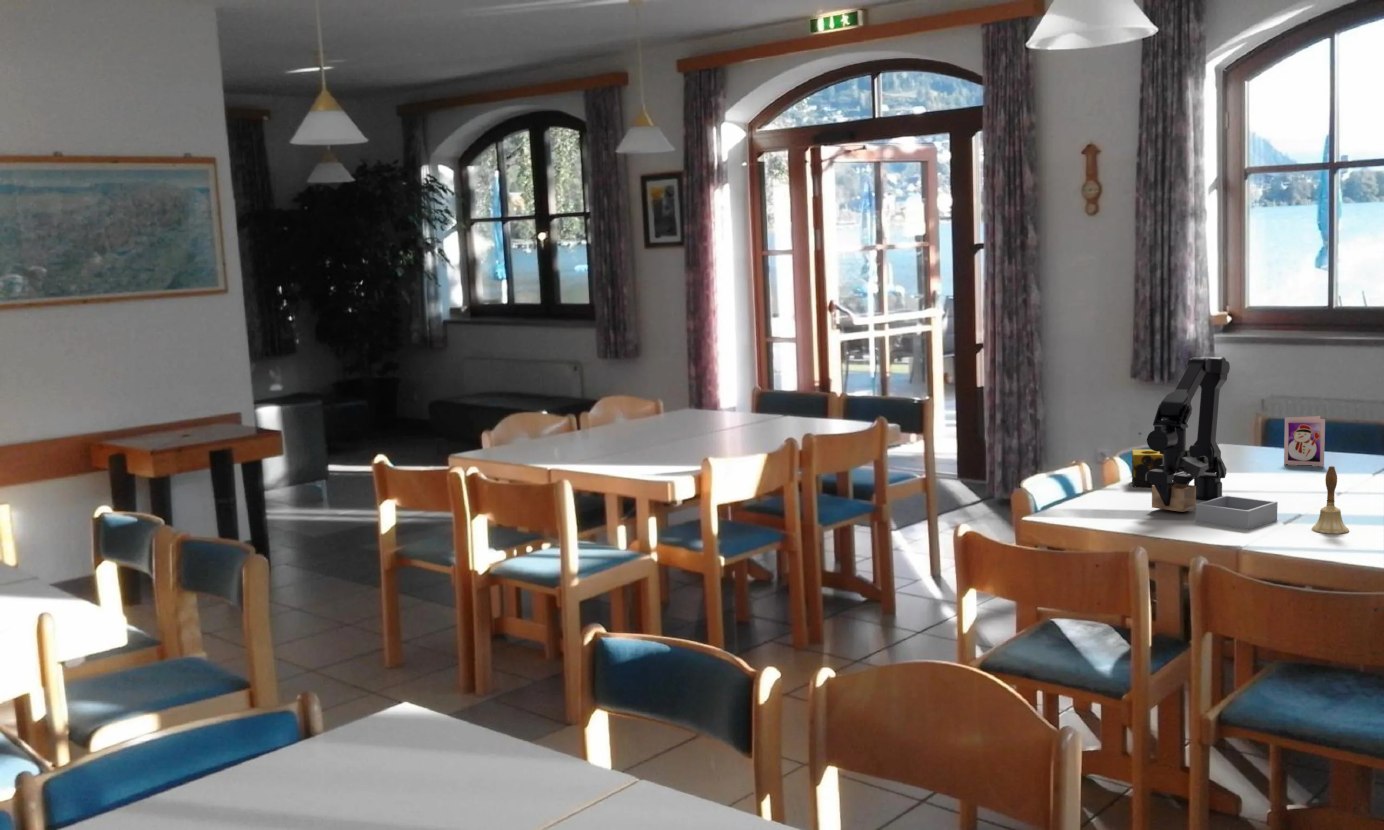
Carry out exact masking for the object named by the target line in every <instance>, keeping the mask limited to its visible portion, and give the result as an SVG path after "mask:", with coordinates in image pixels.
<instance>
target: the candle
mask: <svg viewBox="0 0 1384 830" xmlns="http://www.w3.org/2000/svg"><path fill="white" fill-rule="evenodd" d="M1131 455H1132V456H1131V459H1132V460H1131V483H1132V487H1133V488H1151V489H1152V485H1154V484H1153V483H1151V481H1146V473H1147V472H1148V471H1149V470H1153V469H1160V465H1163V454H1160V451H1159V452H1156V451H1153V450H1152V449H1151V448H1149V449H1147V448H1146V449H1137V448H1136V449H1132V450H1131ZM1161 470H1163V469H1161Z"/></svg>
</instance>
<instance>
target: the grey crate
mask: <svg viewBox="0 0 1384 830" xmlns="http://www.w3.org/2000/svg"><path fill="white" fill-rule="evenodd" d="M1275 521H1278V501H1274V500H1273V501H1271V500H1263V499H1257V498H1256V499H1255V498H1247V497H1240V496H1231V495H1226V494H1225V495H1222V497H1219V498H1215V499H1212V500H1204V501H1202V502H1199V503H1196V508H1195V523H1199V524H1207V525H1213V524H1214V525H1213V526H1219V525H1222V526H1221V527H1226V528H1227V527H1228V528H1234V529H1240V530H1241V529H1242V530H1246V531H1247V530H1248V531H1249V530H1252V529H1254V528H1257V527H1260V526H1263V525H1266V524H1270V523H1272V522H1275Z"/></svg>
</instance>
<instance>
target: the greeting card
mask: <svg viewBox="0 0 1384 830" xmlns="http://www.w3.org/2000/svg"><path fill="white" fill-rule="evenodd" d="M1325 433H1326V419H1325V418H1321V415H1315V416H1313V415H1312V416H1293V417H1292V416H1291V417H1284V437H1283V439H1284V443H1283V444H1284V445H1283V447H1284V448H1283V450H1284V451H1283V465H1284V464H1285V465H1284V466H1297V465H1314V466H1313V467H1317V466H1324V467H1325V447H1326V446H1325V440H1326V439H1325V438H1326V434H1325ZM1286 464H1288V465H1286ZM1315 465H1316V466H1315Z"/></svg>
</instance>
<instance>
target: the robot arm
mask: <svg viewBox="0 0 1384 830" xmlns="http://www.w3.org/2000/svg"><path fill="white" fill-rule="evenodd" d="M1230 366H1231V365H1230V362H1229V361H1227V359H1226V358H1225V357H1224V356H1223V357H1221V356H1220V357H1219V356H1200V357H1192V358H1191V357H1190V358H1189V359H1188V362H1187V367H1186V368H1185V371H1184V372H1183V375H1182V376H1181V378H1180V380H1179V381H1178V384H1177V385H1176V387H1175V389H1173V390H1174V391H1172V392H1170V393H1168V394H1165V396H1164V397H1163V399H1162V400H1161V401H1160V403H1159V405H1158V407H1157V410H1156V414H1155V417H1154V420H1153V423H1152V426H1154V427H1153V429H1154V430H1152V431H1151V432H1149V433H1148V435H1147V438H1146V443H1147V446H1148V447H1149V449H1152V450H1153V451H1156V452H1159V451H1160V454H1163V465H1160V469H1153V470H1149V471H1148V472H1147V473H1146V481H1151V483H1153V484H1154V486H1155V488H1156V489H1157V491H1158V493H1159V495H1160V497H1161V499H1162V501H1163V503H1164V505H1165V506H1169V504H1170V497H1171V488H1172V486H1173V485H1174V484H1175V483H1177V484H1185V485H1190V483H1191V482H1192V481H1193V486H1196V500H1202V501H1203V500H1204V501H1208V500H1212V499H1215V498H1219V497H1222V496H1223V482H1222V481H1221V479H1225V478H1226V476H1227V471H1228V470H1227V468H1226V465H1225V463H1224V460H1223V459H1222V452H1221V449H1220V447H1219V445H1218V443H1217V442H1216V441H1217V440H1216V439H1217V430H1218V429H1217V428H1218V427H1217V426H1218V415H1219V414H1218V413H1219V402H1220V401H1219V400H1220V393H1221V392H1220V391H1221V388H1222V387H1223V386H1224V384H1225V383H1226V382H1227V379H1228V374H1229V372H1230V370H1231V367H1230ZM1199 387H1200V388H1201V389H1200V398H1199V399H1200V401H1199V409H1198V410H1199V412H1198V422H1197V423H1198V425H1197V438H1196V441H1195V442H1194V443H1193V445H1190V446H1189V448H1188V449H1187V447H1186V446H1187V445H1186V444H1187V432H1186V431H1187V429H1188V428H1189V424H1188V422H1189V420H1190V418H1191V415H1192V411H1193V407H1192V400H1193V397H1194V396H1195V395H1196V392H1197V390H1198V388H1199ZM1161 469H1163V470H1161Z"/></svg>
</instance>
